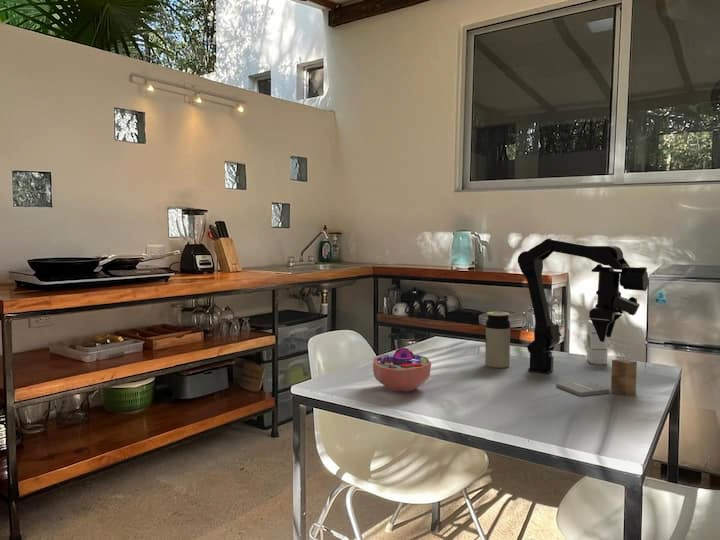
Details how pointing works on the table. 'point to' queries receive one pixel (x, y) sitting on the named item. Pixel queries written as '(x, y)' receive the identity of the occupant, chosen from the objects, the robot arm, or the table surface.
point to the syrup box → (596, 346)
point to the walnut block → (623, 376)
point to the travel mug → (497, 340)
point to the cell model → (402, 370)
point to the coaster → (582, 388)
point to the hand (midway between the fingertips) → (605, 339)
